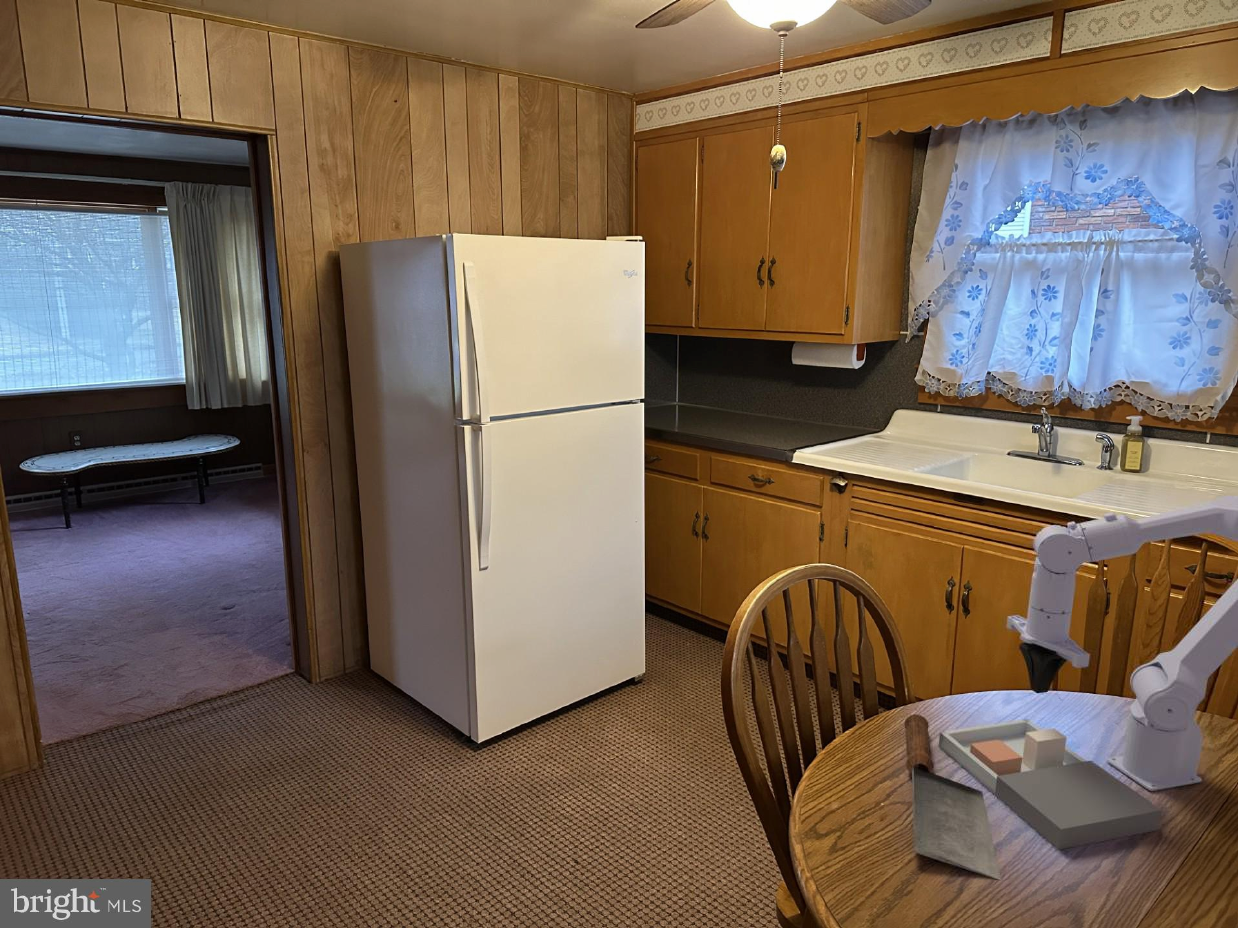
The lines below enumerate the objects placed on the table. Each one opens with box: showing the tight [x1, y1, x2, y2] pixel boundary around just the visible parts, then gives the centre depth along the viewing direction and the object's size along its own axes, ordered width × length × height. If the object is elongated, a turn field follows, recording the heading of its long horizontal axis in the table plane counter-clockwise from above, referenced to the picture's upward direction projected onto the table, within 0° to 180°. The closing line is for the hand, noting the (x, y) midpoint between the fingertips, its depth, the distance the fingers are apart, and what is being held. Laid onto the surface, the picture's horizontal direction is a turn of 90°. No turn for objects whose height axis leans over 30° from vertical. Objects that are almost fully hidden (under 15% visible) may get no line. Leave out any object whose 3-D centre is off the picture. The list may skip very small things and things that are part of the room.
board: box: [994, 760, 1163, 850], centre depth 115 cm, size 16×12×3 cm
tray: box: [938, 718, 1087, 796], centre depth 127 cm, size 16×13×2 cm
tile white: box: [1022, 728, 1067, 770], centre depth 125 cm, size 5×5×2 cm
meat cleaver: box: [904, 713, 1002, 881], centre depth 119 cm, size 34×11×4 cm, turn 164°
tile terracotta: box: [970, 740, 1022, 776], centre depth 125 cm, size 5×5×2 cm
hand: (1039, 690), depth 128 cm, fingers closed
